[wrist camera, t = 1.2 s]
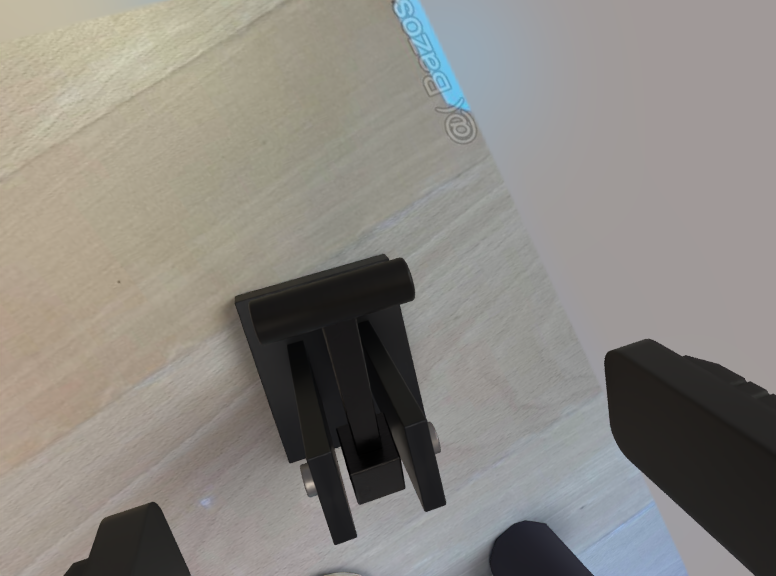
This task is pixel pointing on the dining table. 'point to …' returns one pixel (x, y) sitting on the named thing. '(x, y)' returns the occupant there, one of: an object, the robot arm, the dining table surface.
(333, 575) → the pill bottle
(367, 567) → the dining table surface
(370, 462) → the lever
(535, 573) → the speaker
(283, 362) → the bracket
